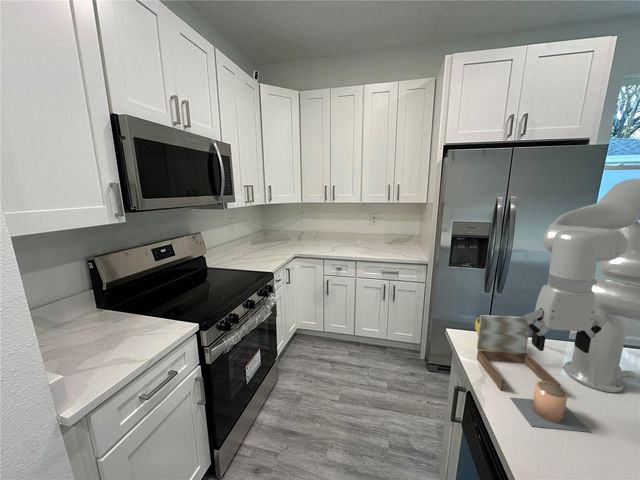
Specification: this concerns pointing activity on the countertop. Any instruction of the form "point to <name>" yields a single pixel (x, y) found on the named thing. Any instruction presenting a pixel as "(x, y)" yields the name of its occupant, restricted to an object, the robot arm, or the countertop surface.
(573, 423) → the potting mat
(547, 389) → the flowerpot
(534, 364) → the wooden bench
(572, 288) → the robot arm
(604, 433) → the countertop surface
